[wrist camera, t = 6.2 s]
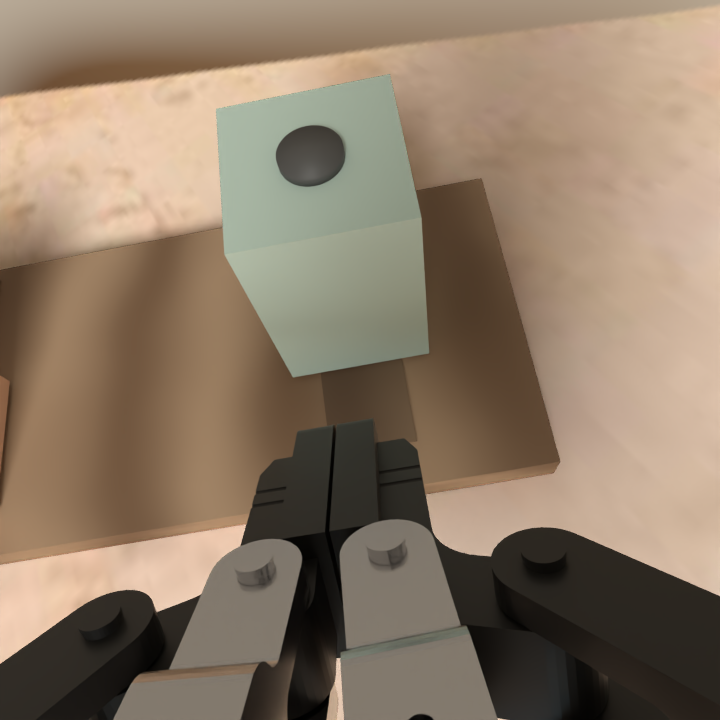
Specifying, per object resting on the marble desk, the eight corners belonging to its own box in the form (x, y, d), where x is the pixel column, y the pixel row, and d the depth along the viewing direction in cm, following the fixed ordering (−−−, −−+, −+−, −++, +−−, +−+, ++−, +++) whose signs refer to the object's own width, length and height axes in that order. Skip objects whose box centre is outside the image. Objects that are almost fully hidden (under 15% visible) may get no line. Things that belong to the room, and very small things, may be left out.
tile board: (479, 201, 28) (481, 176, 26) (553, 472, 23) (560, 460, 21) (-137, 317, 29) (-168, 300, 28) (-198, 597, 24) (-239, 593, 23)
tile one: (429, 353, 23) (421, 210, 16) (292, 377, 23) (220, 248, 16) (405, 239, 25) (389, 65, 18) (281, 262, 26) (212, 100, 18)
